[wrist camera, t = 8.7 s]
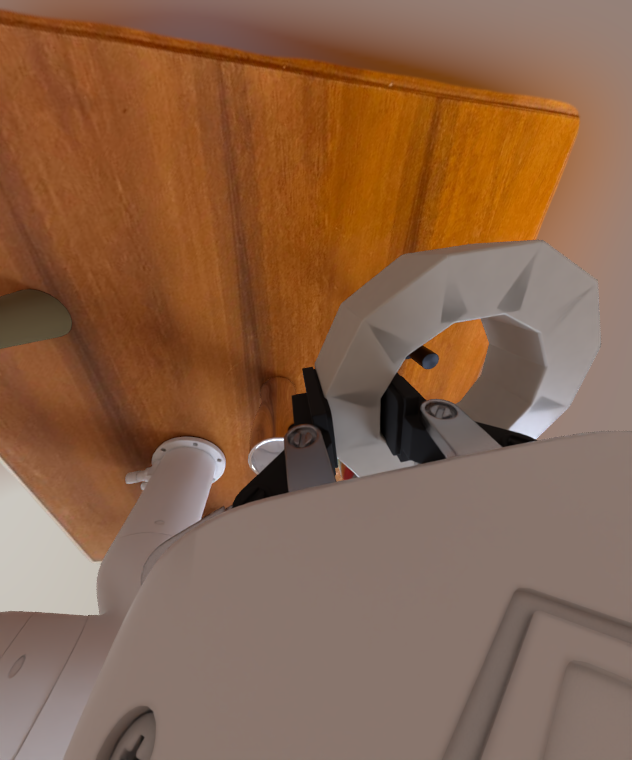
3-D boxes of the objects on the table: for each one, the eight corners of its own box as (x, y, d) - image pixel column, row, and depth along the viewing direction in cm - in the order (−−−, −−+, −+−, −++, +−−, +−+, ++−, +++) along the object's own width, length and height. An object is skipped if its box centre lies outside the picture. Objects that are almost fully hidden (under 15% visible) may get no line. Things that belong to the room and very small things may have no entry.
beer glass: (248, 391, 38) (232, 460, 25) (279, 365, 37) (279, 425, 24) (277, 415, 42) (276, 488, 28) (306, 392, 40) (319, 458, 27)
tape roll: (329, 464, 15) (339, 509, 12) (300, 269, 9) (308, 275, 6) (495, 430, 15) (539, 466, 13) (563, 229, 10) (667, 220, 7)
